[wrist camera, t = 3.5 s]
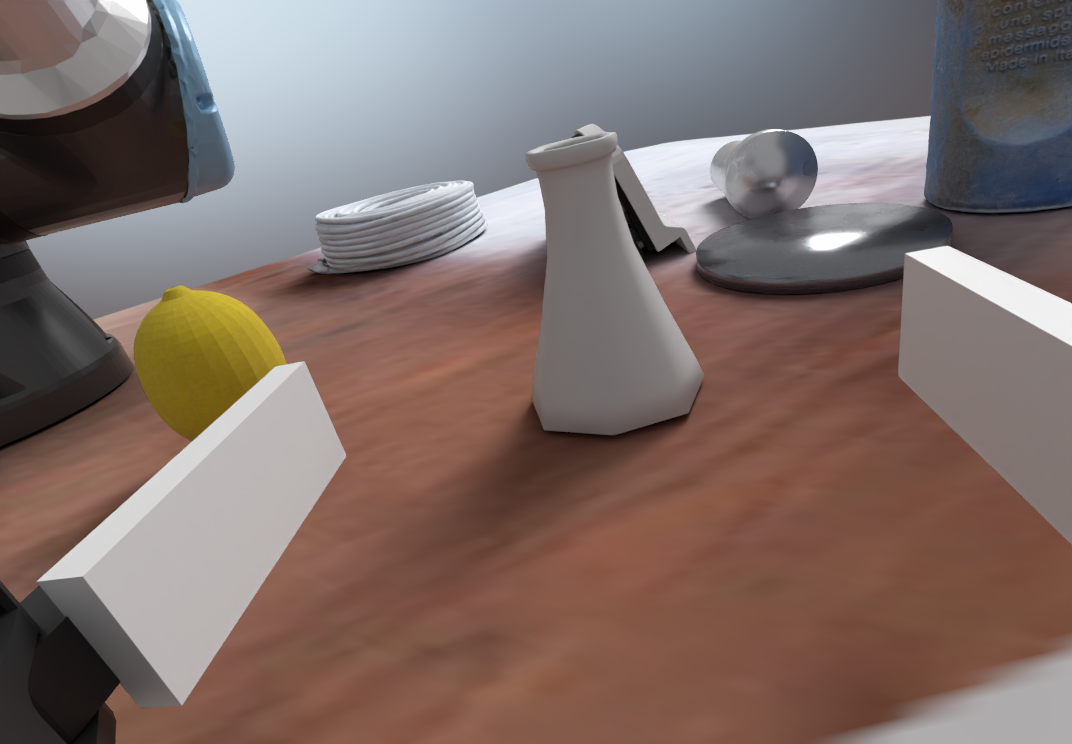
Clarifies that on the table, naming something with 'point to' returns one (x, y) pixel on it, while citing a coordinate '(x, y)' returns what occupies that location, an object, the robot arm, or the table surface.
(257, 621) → the table surface
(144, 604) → the robot arm
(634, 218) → the white flat angled piece
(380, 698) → the table surface
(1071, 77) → the bottle
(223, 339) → the lemon
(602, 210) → the flask
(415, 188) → the cable
